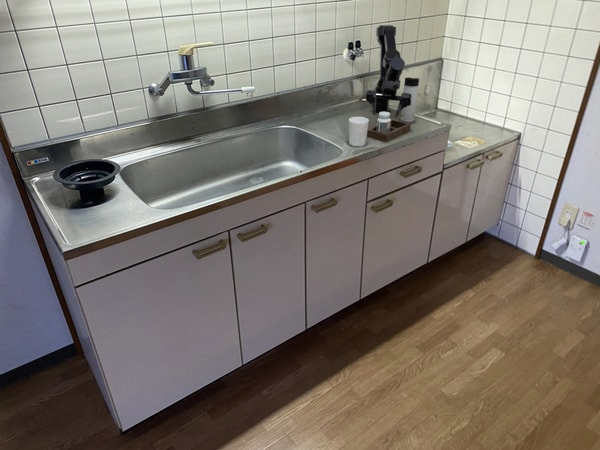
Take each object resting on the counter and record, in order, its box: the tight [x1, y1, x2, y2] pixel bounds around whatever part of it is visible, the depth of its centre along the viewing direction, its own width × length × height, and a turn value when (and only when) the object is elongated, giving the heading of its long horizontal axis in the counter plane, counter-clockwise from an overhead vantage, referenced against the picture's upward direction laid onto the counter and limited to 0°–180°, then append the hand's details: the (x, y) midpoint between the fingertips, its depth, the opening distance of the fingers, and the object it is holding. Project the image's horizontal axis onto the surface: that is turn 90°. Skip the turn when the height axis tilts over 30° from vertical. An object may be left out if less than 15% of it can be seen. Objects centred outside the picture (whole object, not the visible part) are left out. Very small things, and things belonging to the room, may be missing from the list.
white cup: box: [348, 116, 370, 147], centre depth 187 cm, size 8×8×10 cm
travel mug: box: [399, 77, 420, 124], centre depth 207 cm, size 6×7×20 cm
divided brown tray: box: [366, 118, 412, 143], centre depth 199 cm, size 19×10×3 cm, turn 136°
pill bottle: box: [376, 112, 392, 134], centre depth 194 cm, size 6×6×10 cm
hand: (384, 116), depth 193 cm, fingers open, 9 cm apart
